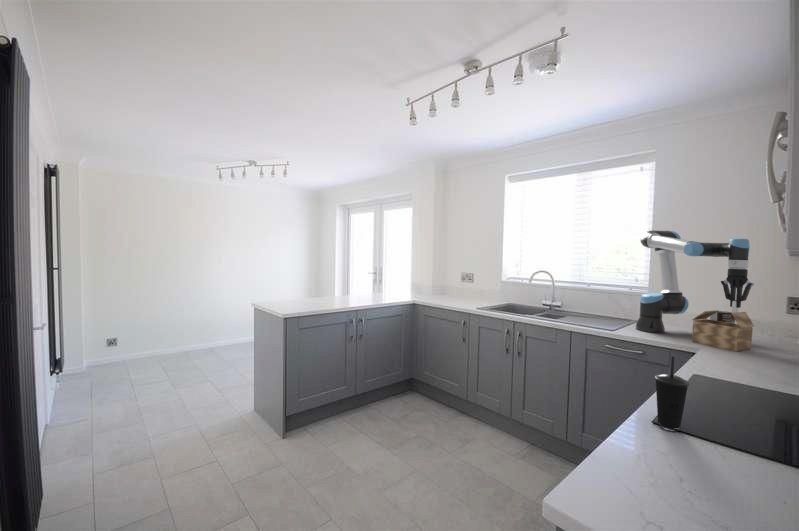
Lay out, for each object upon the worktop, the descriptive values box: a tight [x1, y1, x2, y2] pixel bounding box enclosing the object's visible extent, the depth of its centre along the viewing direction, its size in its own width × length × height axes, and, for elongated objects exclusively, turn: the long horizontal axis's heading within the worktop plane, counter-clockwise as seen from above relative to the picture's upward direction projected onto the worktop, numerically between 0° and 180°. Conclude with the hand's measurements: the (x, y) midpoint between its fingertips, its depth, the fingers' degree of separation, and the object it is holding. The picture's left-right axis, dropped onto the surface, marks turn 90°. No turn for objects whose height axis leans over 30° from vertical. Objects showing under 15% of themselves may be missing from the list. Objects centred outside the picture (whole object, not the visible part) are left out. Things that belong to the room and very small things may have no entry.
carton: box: [691, 318, 754, 353], centre depth 190 cm, size 20×13×12 cm, turn 23°
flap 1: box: [691, 309, 719, 321], centre depth 197 cm, size 8×13×1 cm
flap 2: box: [731, 311, 755, 328], centre depth 182 cm, size 8×13×1 cm
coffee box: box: [709, 310, 736, 324], centre depth 205 cm, size 9×6×16 cm
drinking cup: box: [654, 356, 690, 428], centre depth 98 cm, size 8×8×20 cm
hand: (734, 313), depth 185 cm, fingers closed
